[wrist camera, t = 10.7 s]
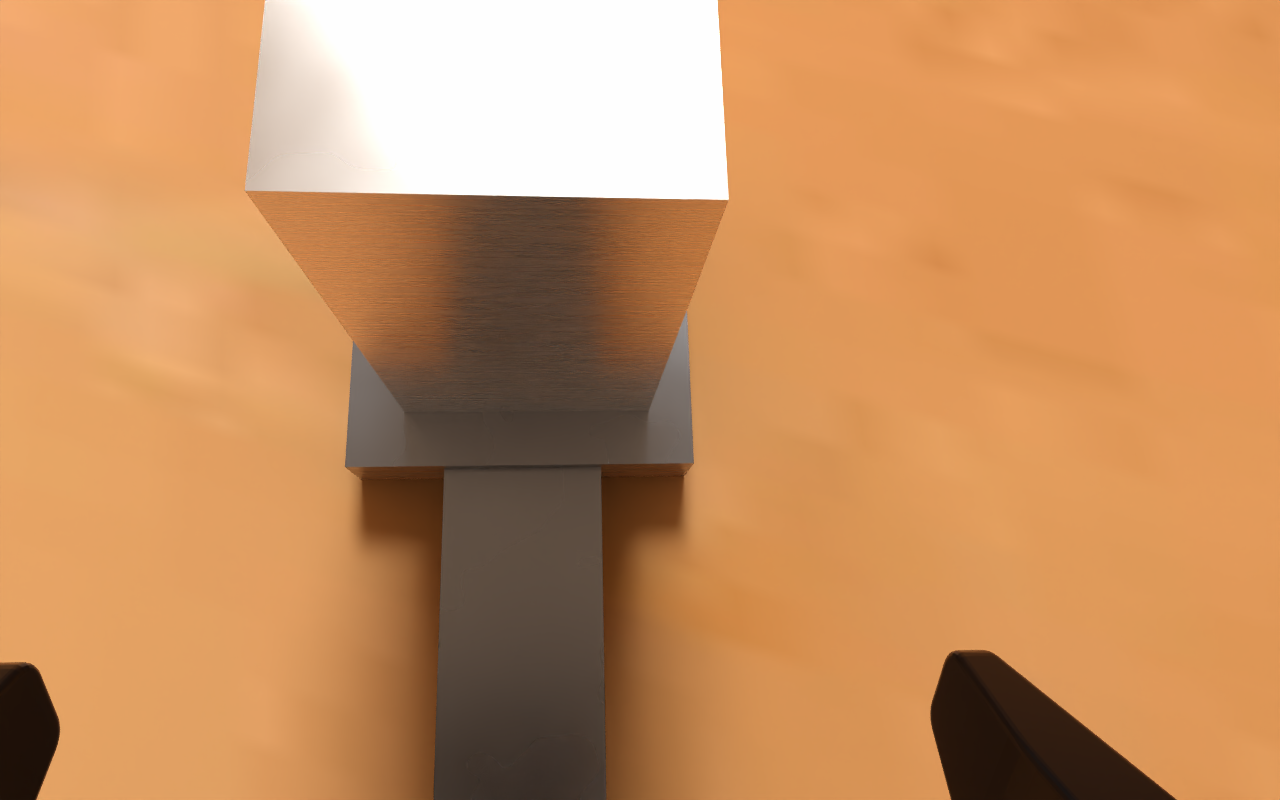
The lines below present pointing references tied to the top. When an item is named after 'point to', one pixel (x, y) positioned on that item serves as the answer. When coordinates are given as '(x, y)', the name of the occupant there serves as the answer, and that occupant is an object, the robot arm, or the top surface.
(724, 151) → the brushed metal block
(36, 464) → the top surface
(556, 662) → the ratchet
